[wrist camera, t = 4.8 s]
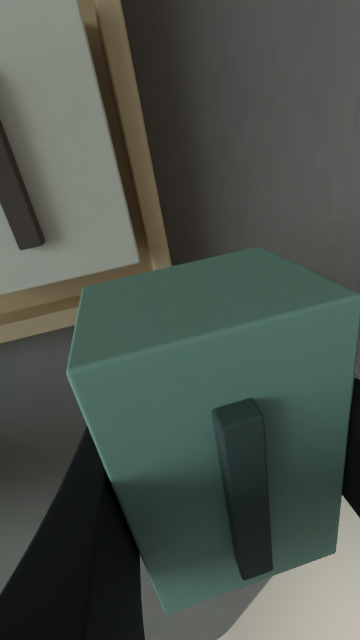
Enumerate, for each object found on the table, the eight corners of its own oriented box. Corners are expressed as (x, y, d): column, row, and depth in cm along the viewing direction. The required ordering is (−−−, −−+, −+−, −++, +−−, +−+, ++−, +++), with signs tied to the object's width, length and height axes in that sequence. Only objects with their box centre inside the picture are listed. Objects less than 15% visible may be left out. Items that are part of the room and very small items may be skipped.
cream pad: (-23, 285, 14) (-55, 313, 11) (-140, 51, 10) (-231, 6, 7) (135, 249, 14) (142, 267, 12) (80, 20, 11) (72, -31, 8)
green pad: (146, 483, 12) (167, 642, 8) (81, 286, 8) (58, 393, 4) (270, 445, 12) (349, 574, 8) (260, 244, 9) (389, 305, 5)
